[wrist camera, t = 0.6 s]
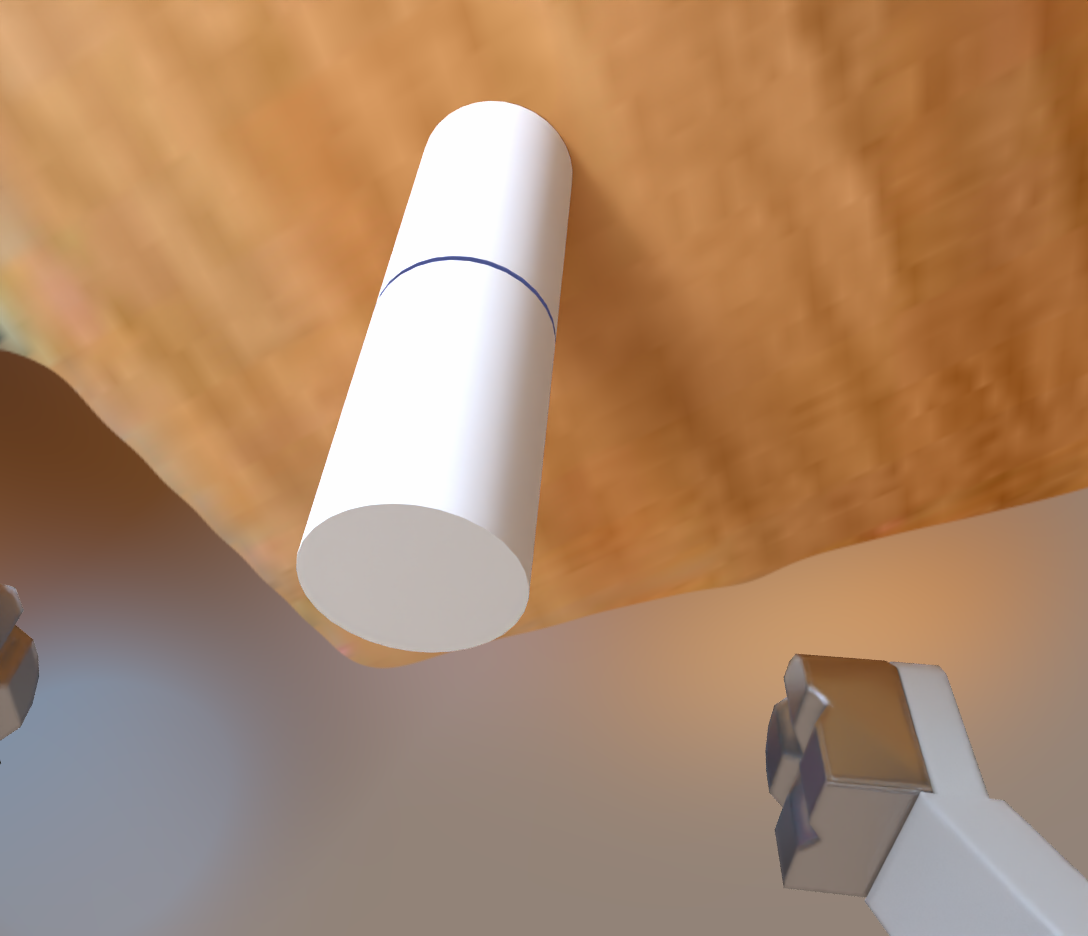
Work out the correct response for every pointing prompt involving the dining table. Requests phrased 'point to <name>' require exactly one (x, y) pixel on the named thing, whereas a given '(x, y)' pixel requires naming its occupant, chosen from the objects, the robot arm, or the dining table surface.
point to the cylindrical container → (449, 397)
